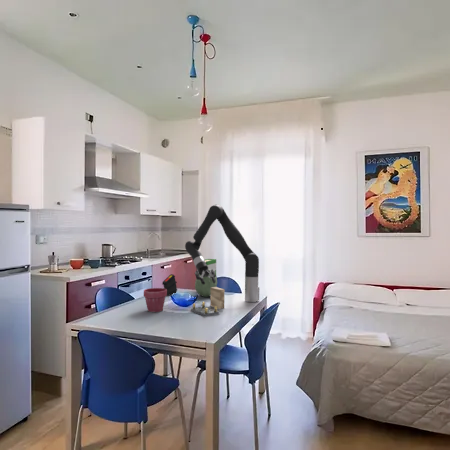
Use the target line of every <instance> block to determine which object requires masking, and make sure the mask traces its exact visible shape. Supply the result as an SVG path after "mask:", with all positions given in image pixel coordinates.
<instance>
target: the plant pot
mask: <svg viewBox="0 0 450 450" xmlns="http://www.w3.org/2000/svg"><path fill="white" fill-rule="evenodd" d="M143 297H144V298H145V299H144V300H145V305H146V309H147V312H150V313H159V312H162V311H163V310H164V306H165V302H166V301H165V300H166V297H168V296H167V289H164V287H152V288H146V289H144V290H143Z"/></svg>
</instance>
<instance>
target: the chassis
mask: <svg viewBox="0 0 450 450" xmlns="http://www.w3.org/2000/svg"><path fill="white" fill-rule="evenodd" d="M205 304H206V302H205V301H203V302H202V303H201V306H197V307H196V303H195V302H194V303H192V308H190V312H192V313H195V314H198V315H200V316H202V317H209V316H216V315H220V311H219V310H218V308H217V306H214V307H213V308H211V307H208V306H206V305H205Z"/></svg>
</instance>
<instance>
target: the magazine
mask: <svg viewBox="0 0 450 450" xmlns="http://www.w3.org/2000/svg"><path fill="white" fill-rule="evenodd" d="M177 284H178V282H177V280H176V275H175V274H169V275H168V276H167V277H166V278H165V279H164V280H163V281H162V283H161V285H163V288H164V289H167V296H166V297H169V296H173V295H172V294H173V293H176V292H178V288H177V287H178V286H177Z"/></svg>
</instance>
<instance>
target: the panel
mask: <svg viewBox="0 0 450 450" xmlns="http://www.w3.org/2000/svg"><path fill="white" fill-rule="evenodd" d="M225 292H226V291H225V288H220V287H218V286H216V287H211V295H210V306H209V307H213V308H214V306H217V310H218V309H219V310H220V309H221V310H222V309H225V295H226V294H225Z"/></svg>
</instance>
